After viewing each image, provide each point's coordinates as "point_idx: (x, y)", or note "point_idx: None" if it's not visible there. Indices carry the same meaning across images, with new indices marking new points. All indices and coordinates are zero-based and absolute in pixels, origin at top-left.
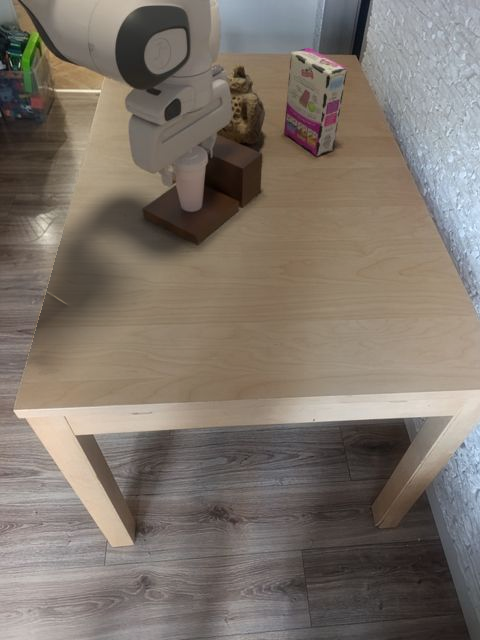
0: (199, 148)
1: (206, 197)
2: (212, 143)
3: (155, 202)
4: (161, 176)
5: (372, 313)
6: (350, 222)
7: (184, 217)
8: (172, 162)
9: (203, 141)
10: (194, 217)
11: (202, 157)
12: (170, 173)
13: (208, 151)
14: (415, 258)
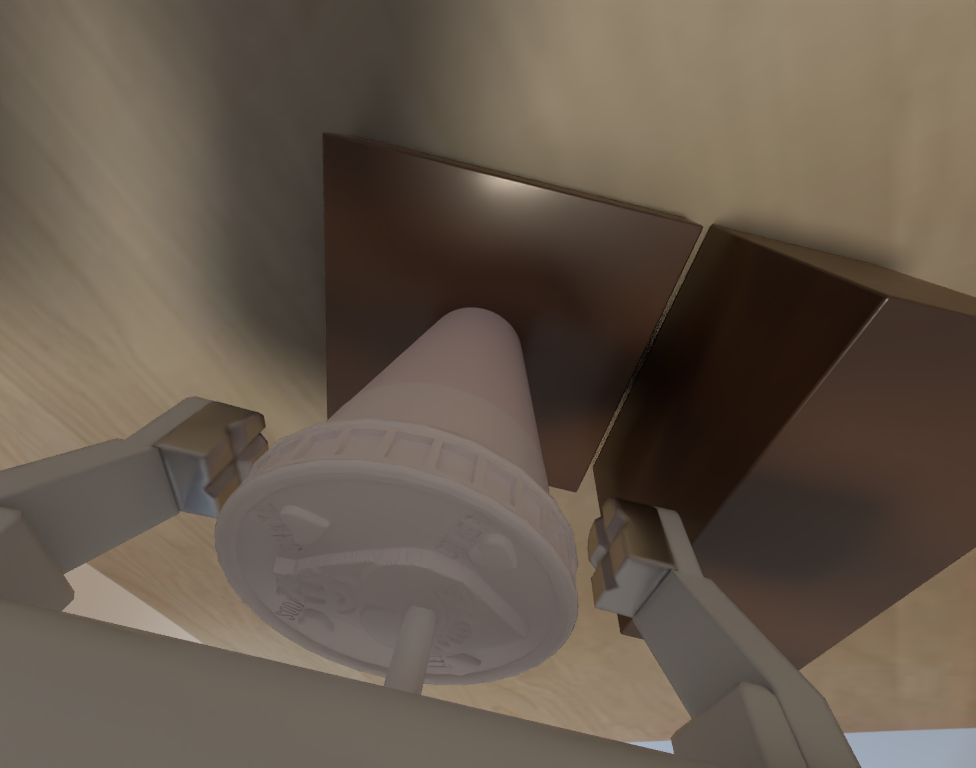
0: (541, 636)
1: (554, 387)
2: (669, 679)
3: (406, 175)
4: (145, 426)
5: (383, 682)
6: (619, 662)
7: (386, 359)
8: (215, 531)
9: (702, 619)
10: None
11: (433, 662)
12: (130, 536)
13: (611, 610)
14: (546, 722)
